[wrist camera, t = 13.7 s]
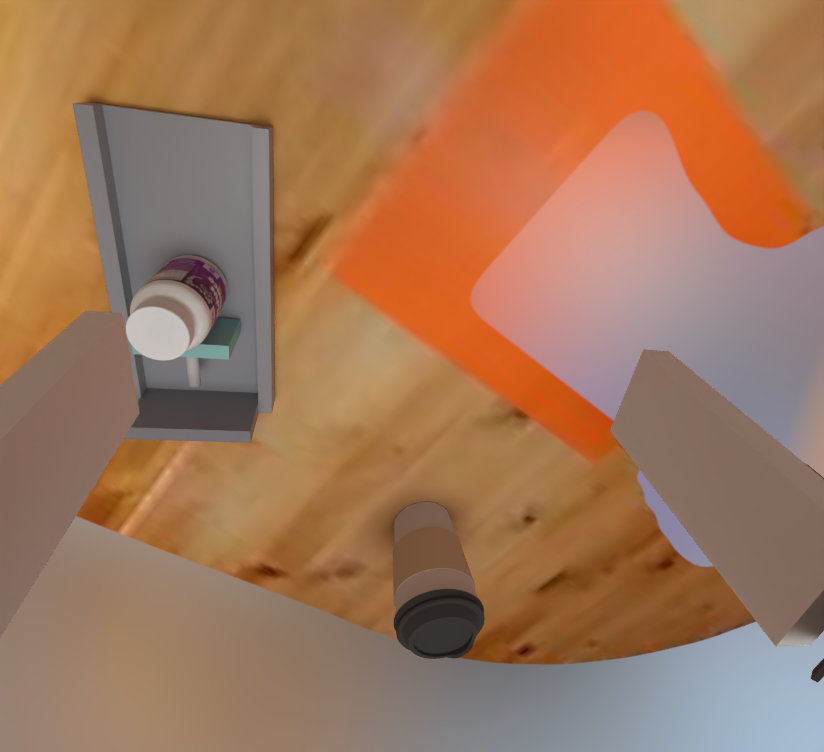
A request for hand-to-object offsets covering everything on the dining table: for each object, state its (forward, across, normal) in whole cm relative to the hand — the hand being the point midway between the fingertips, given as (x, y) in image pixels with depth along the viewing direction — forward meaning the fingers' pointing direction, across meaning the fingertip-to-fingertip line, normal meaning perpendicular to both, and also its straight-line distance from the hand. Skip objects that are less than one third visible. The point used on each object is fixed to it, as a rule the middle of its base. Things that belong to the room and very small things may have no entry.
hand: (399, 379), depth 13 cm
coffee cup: (+31, +10, -38) cm, 50 cm away
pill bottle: (+30, -13, -10) cm, 34 cm away
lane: (+31, -13, -9) cm, 35 cm away
